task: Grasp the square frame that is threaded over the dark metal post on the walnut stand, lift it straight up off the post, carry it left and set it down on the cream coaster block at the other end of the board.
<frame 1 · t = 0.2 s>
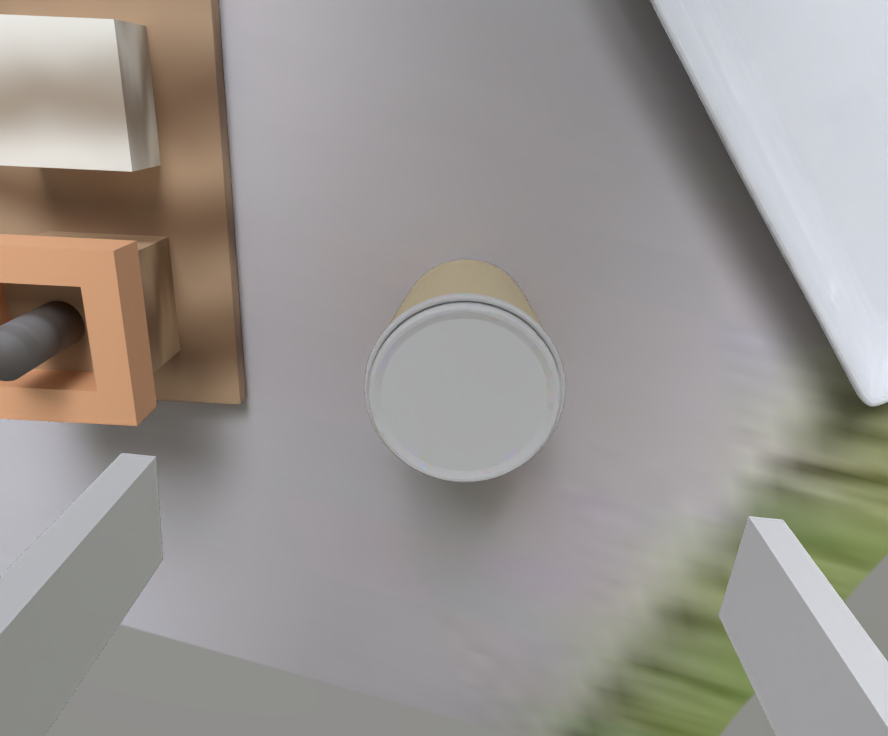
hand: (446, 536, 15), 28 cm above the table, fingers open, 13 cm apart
stand: (115, 204, 41), on the table
square frame: (61, 322, 36), point 7 cm above the table, touching stand
tray: (867, 89, 38), on the table
coffee cup: (465, 318, 43), on the table
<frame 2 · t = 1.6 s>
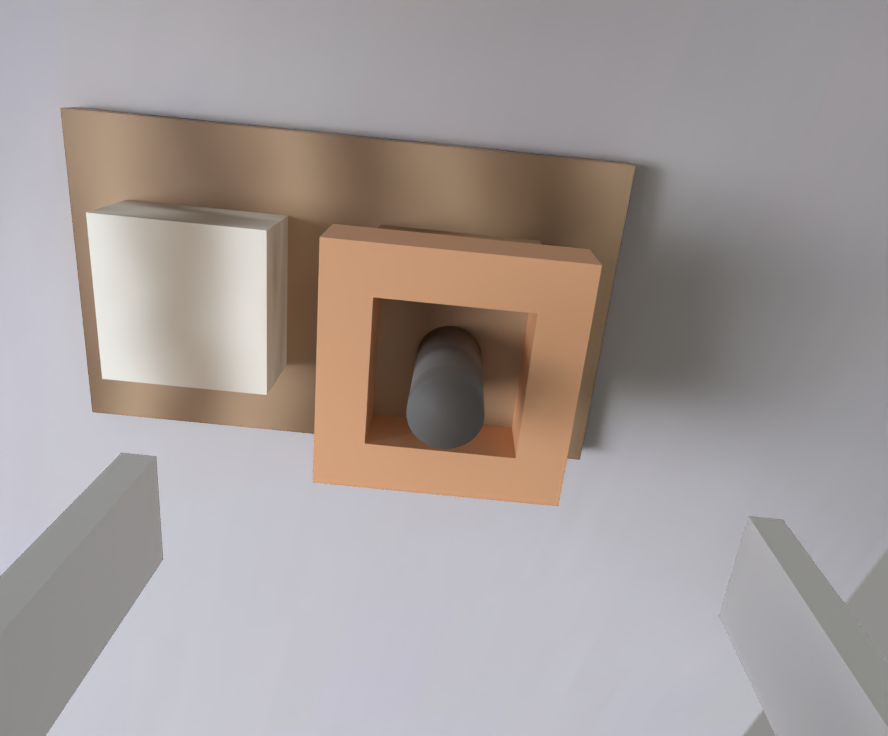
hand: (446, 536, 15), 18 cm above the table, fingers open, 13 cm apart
stand: (346, 291, 32), on the table
square frame: (449, 356, 26), point 7 cm above the table, touching stand
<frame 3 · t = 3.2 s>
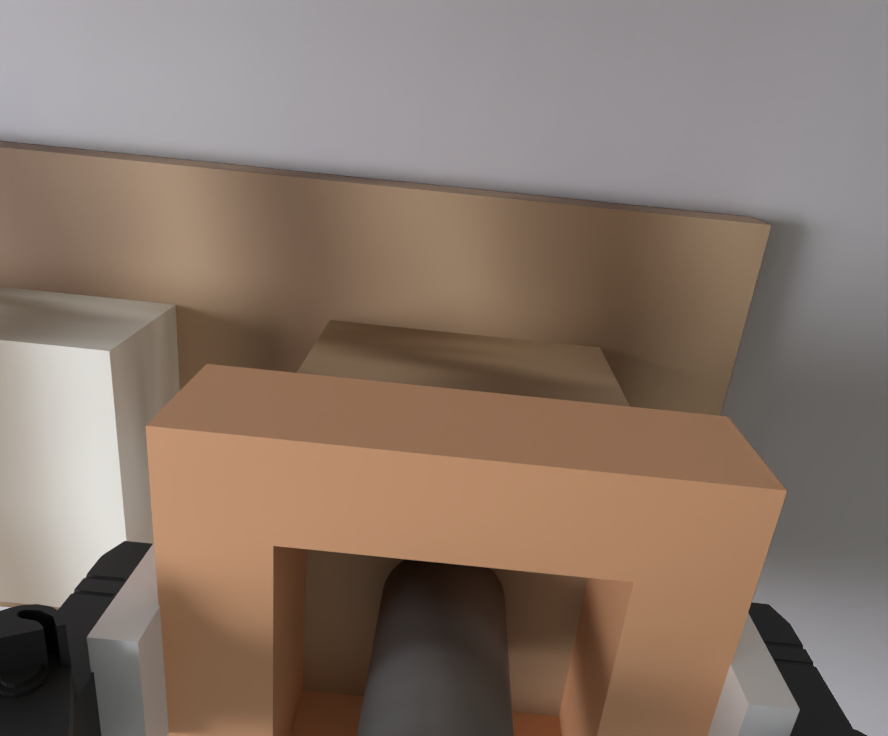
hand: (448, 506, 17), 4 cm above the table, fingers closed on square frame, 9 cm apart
stand: (282, 416, 20), on the table
square frame: (442, 600, 14), point 7 cm above the table, touching gripper, stand
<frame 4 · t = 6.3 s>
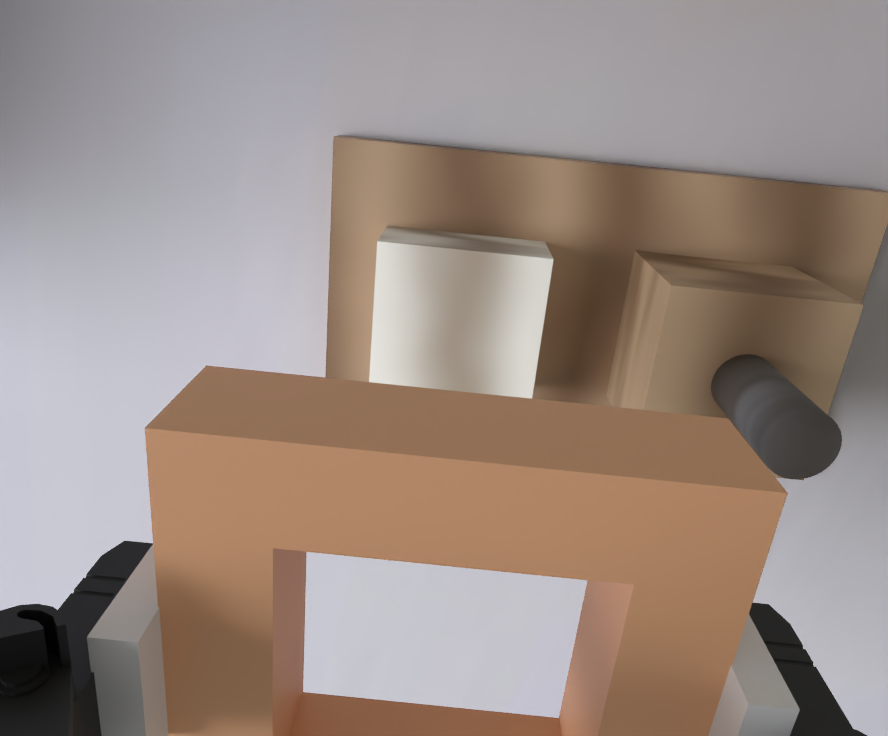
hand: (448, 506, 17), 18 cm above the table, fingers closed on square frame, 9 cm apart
stand: (583, 314, 33), on the table
square frame: (442, 602, 14), point 21 cm above the table, touching gripper
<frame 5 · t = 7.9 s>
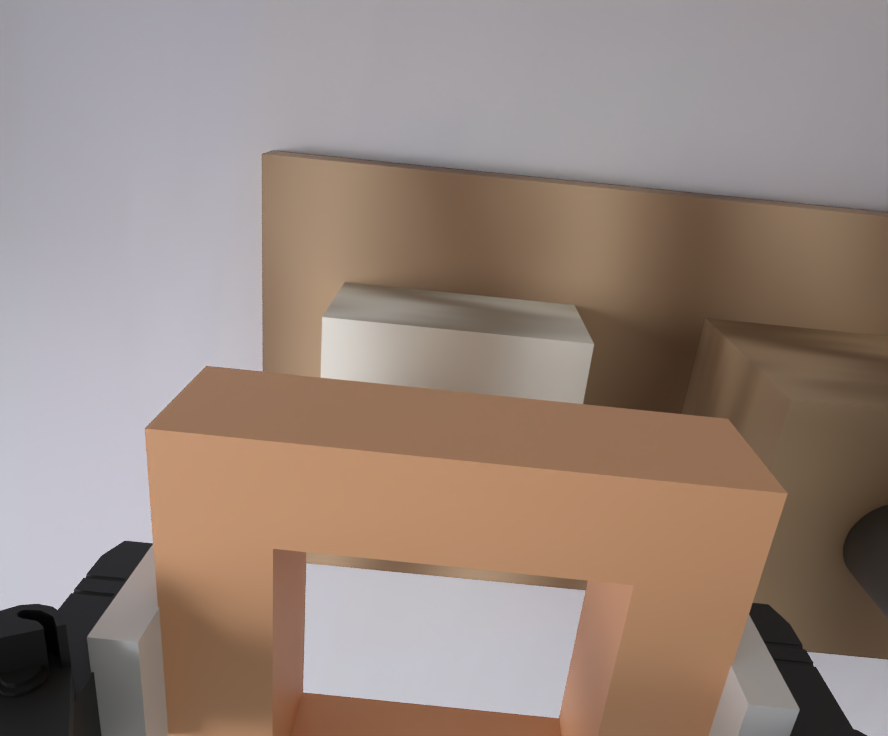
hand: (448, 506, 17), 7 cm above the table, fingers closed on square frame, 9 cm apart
stand: (625, 401, 23), on the table
square frame: (442, 602, 14), point 11 cm above the table, touching gripper
when the fingers open (3 cm above the table, at t = 9.4 s): square frame drops 1 cm, resting on stand.
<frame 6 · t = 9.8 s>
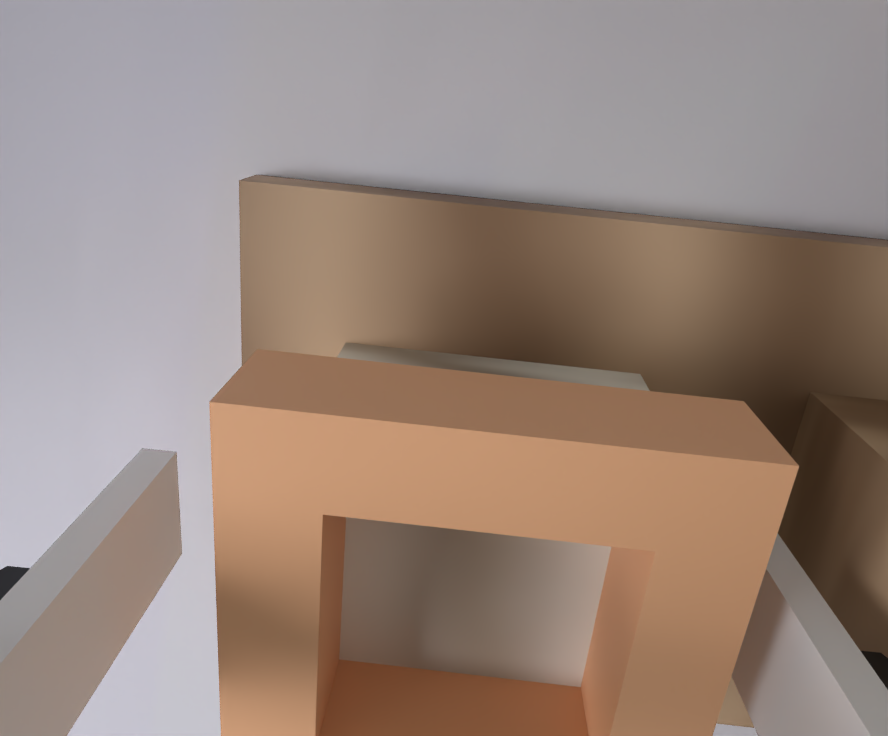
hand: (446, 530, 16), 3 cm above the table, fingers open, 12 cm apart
stand: (697, 487, 19), on the table
square frame: (472, 574, 14), point 5 cm above the table, touching stand
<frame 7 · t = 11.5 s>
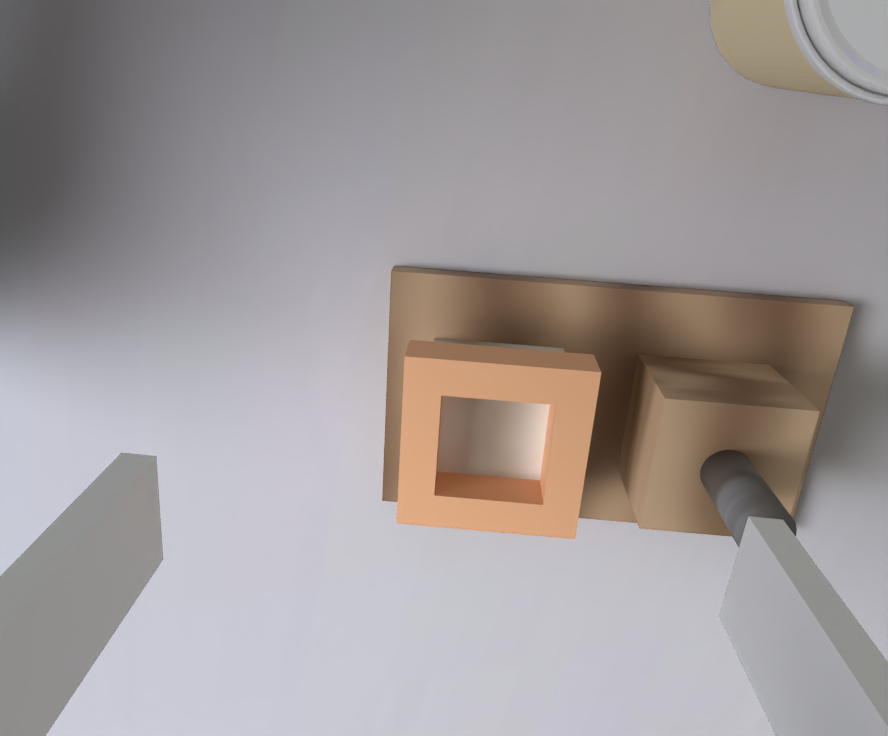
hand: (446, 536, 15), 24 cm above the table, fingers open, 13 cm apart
stand: (597, 402, 40), on the table
square frame: (493, 429, 35), point 5 cm above the table, touching stand
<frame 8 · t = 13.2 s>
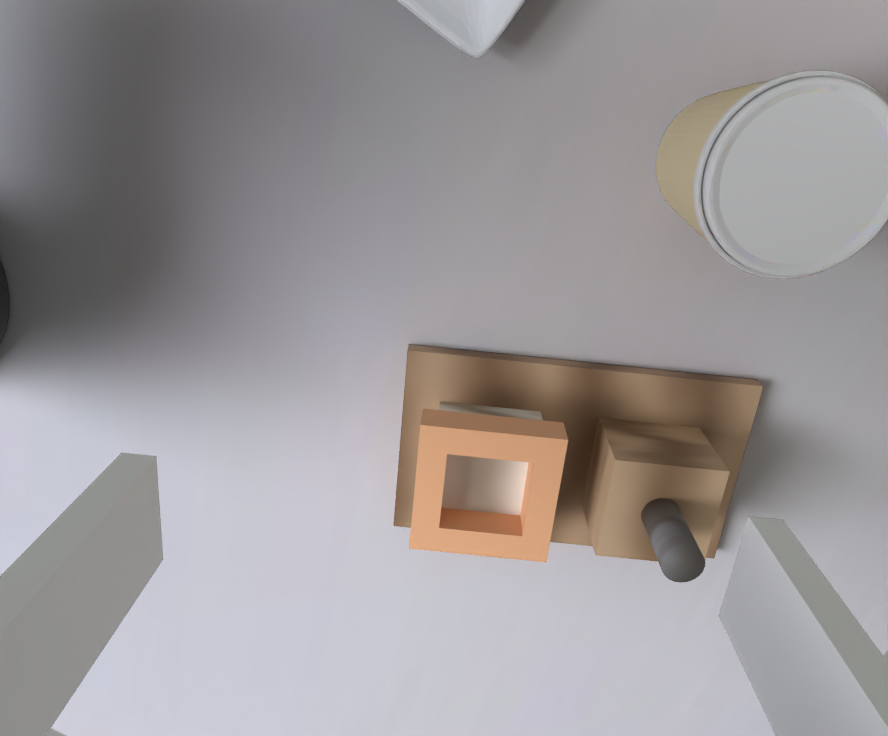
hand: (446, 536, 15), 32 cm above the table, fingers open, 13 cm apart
stand: (566, 451, 50), on the table
square frame: (485, 476, 46), point 5 cm above the table, touching stand
coffee cup: (717, 159, 43), on the table
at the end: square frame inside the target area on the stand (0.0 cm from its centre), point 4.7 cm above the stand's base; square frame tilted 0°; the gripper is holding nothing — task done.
